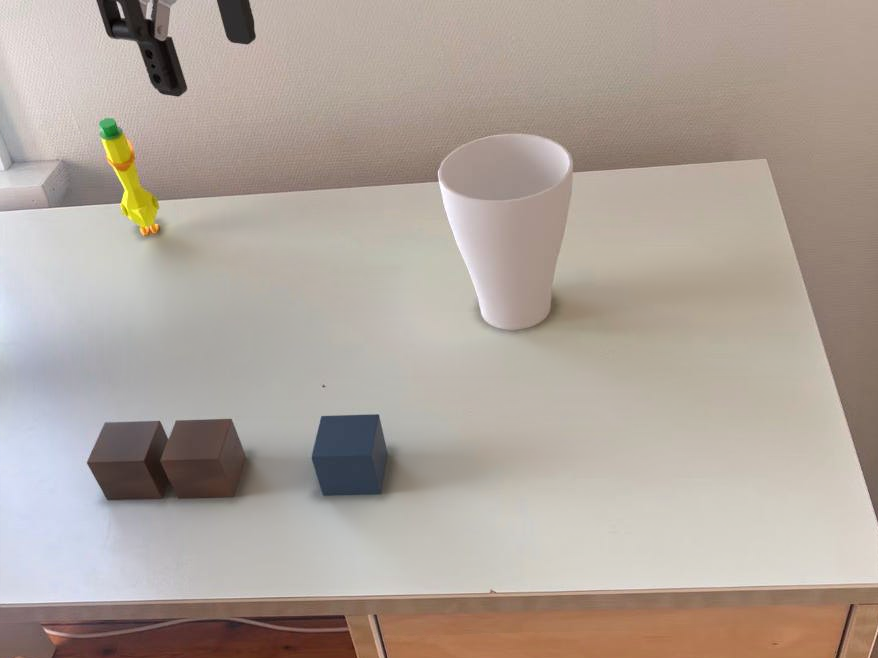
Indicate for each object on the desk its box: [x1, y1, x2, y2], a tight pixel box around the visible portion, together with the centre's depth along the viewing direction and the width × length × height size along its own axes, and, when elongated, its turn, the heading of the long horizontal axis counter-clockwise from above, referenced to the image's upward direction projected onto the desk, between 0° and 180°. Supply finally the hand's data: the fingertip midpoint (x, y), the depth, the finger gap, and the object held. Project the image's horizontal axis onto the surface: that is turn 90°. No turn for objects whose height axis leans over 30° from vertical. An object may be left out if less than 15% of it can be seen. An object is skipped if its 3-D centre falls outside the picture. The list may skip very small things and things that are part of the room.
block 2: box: [160, 418, 247, 500], centre depth 73 cm, size 4×4×4 cm
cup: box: [437, 133, 574, 331], centre depth 80 cm, size 10×10×14 cm
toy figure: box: [98, 117, 160, 237], centre depth 95 cm, size 7×4×12 cm, turn 17°
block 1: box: [86, 420, 170, 501], centre depth 74 cm, size 4×4×4 cm
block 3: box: [310, 413, 389, 497], centre depth 72 cm, size 4×4×4 cm
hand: (208, 66), depth 70 cm, fingers open, 8 cm apart
